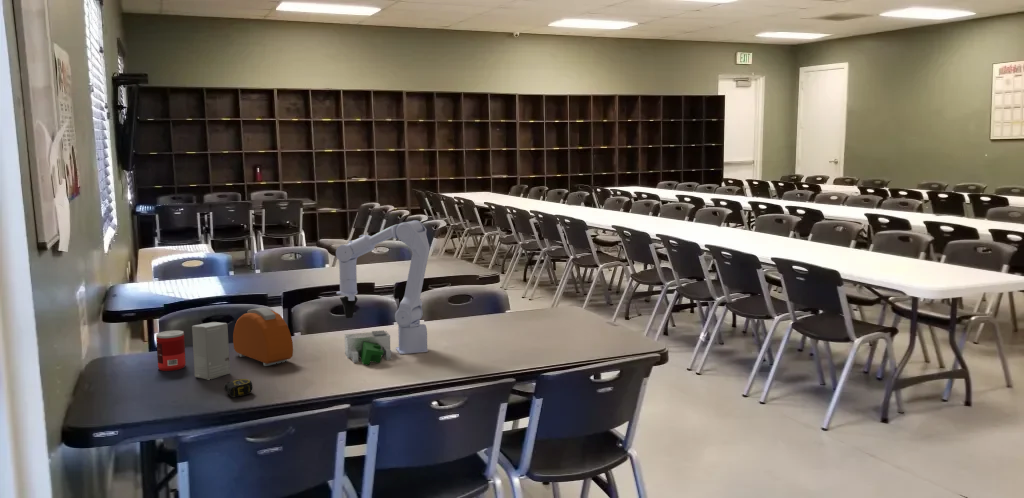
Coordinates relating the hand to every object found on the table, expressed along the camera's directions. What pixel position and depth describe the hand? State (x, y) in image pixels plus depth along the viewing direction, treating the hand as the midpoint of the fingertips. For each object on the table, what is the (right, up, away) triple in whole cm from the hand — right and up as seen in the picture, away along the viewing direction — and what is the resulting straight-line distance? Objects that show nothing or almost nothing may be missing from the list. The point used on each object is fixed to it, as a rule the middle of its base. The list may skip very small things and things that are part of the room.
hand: (349, 317), depth 261 cm
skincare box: (-34, -15, -34) cm, 50 cm away
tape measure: (-20, -17, -53) cm, 59 cm away
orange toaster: (-24, -12, -16) cm, 32 cm away
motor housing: (+9, -12, -12) cm, 19 cm away
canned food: (-49, -13, -26) cm, 58 cm away
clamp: (+11, -13, -18) cm, 25 cm away
